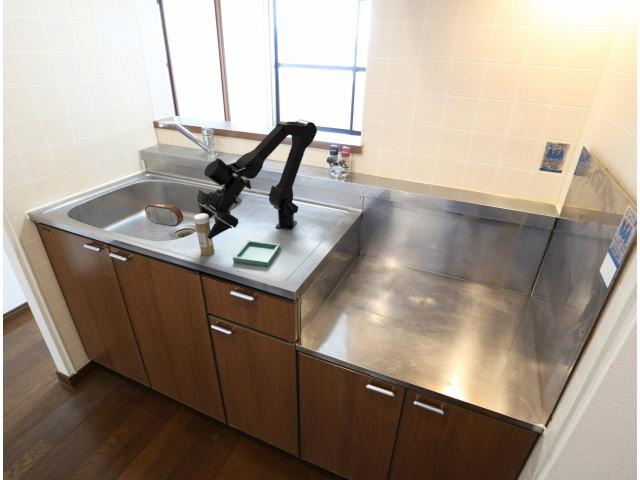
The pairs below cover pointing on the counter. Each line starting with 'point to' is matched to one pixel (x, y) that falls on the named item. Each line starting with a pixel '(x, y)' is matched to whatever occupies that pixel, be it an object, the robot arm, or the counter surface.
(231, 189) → the robot arm
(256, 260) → the teal tray
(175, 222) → the tin
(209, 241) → the sprinkles bottle
